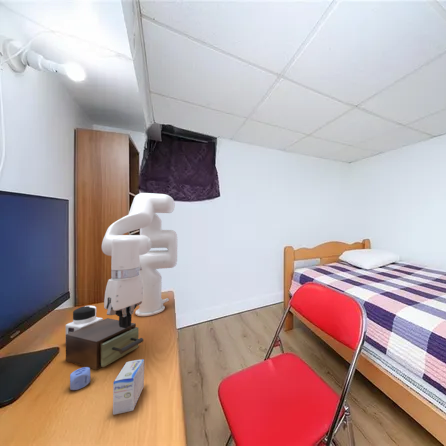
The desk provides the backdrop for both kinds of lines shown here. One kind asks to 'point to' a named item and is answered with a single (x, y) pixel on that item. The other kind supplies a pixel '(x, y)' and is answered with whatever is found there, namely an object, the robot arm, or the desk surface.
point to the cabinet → (91, 342)
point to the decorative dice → (79, 378)
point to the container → (82, 318)
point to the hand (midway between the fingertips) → (125, 326)
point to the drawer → (118, 346)
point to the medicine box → (128, 386)
